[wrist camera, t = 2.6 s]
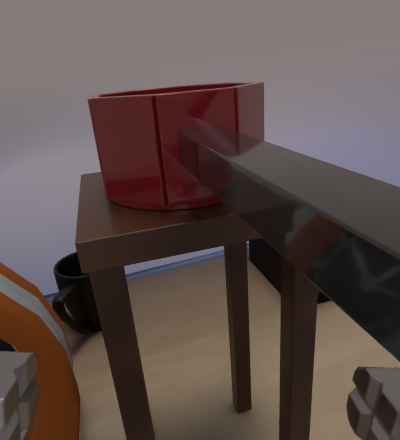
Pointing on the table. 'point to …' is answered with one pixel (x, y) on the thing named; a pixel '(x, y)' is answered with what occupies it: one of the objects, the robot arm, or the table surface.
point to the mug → (75, 296)
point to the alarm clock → (40, 356)
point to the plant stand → (236, 300)
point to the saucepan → (256, 189)
